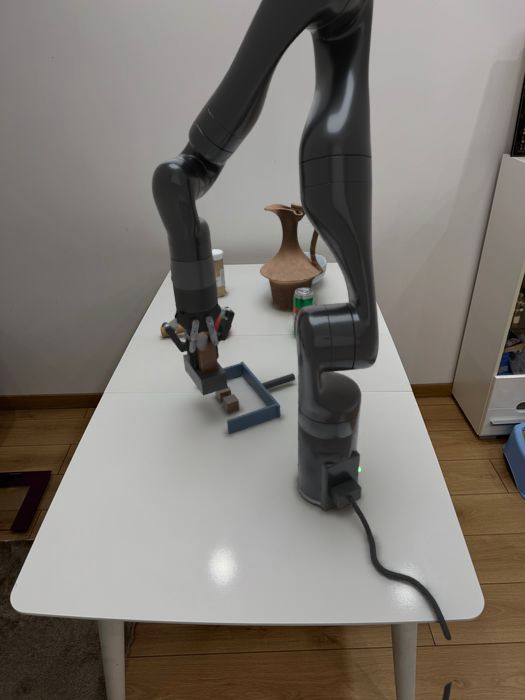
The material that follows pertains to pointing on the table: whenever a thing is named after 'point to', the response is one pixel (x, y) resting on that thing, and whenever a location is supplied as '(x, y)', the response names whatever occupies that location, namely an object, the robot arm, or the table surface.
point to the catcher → (261, 389)
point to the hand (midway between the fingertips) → (204, 362)
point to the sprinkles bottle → (219, 271)
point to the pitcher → (290, 259)
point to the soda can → (301, 301)
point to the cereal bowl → (322, 262)
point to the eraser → (206, 367)
